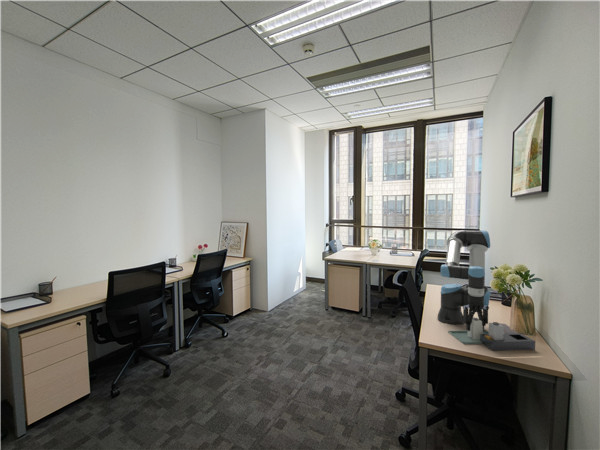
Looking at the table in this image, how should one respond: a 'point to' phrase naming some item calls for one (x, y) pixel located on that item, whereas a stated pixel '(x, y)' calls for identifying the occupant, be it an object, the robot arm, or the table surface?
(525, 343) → the strip
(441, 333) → the table surface
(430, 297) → the table surface
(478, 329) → the plug
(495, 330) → the twin plug
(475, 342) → the tray
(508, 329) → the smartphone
